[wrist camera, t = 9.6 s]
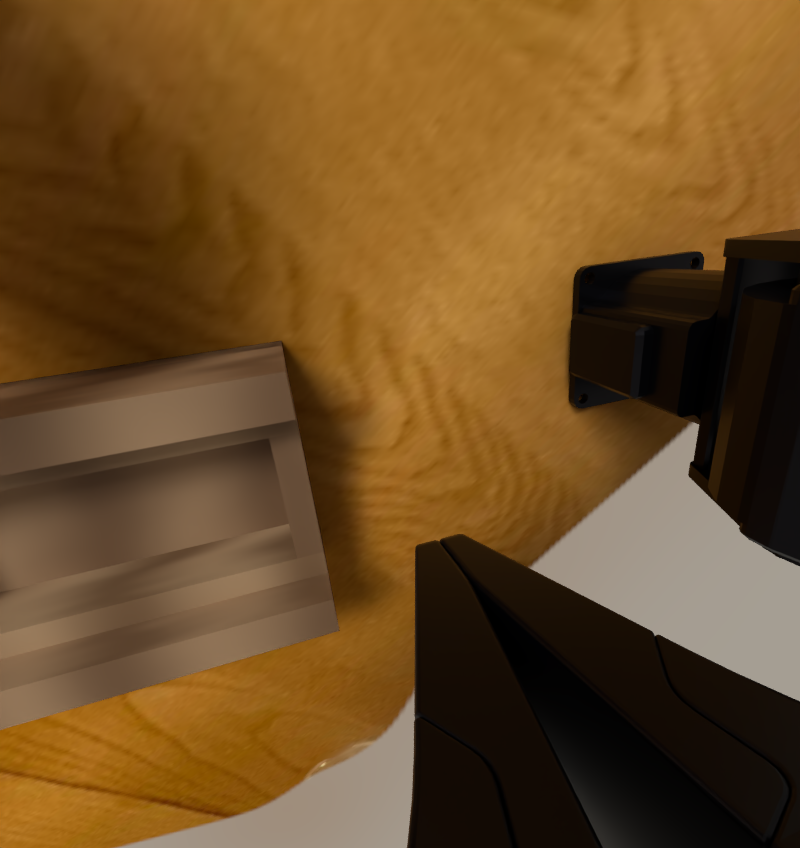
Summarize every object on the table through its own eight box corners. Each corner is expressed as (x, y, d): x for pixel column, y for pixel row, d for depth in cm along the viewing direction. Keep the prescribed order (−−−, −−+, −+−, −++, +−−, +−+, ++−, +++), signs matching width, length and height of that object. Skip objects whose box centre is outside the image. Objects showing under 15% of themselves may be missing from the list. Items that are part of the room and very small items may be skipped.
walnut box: (281, 340, 17) (285, 371, 13) (324, 550, 21) (339, 630, 17) (-158, 408, 15) (-350, 477, 10) (-18, 636, 18) (-111, 761, 14)
